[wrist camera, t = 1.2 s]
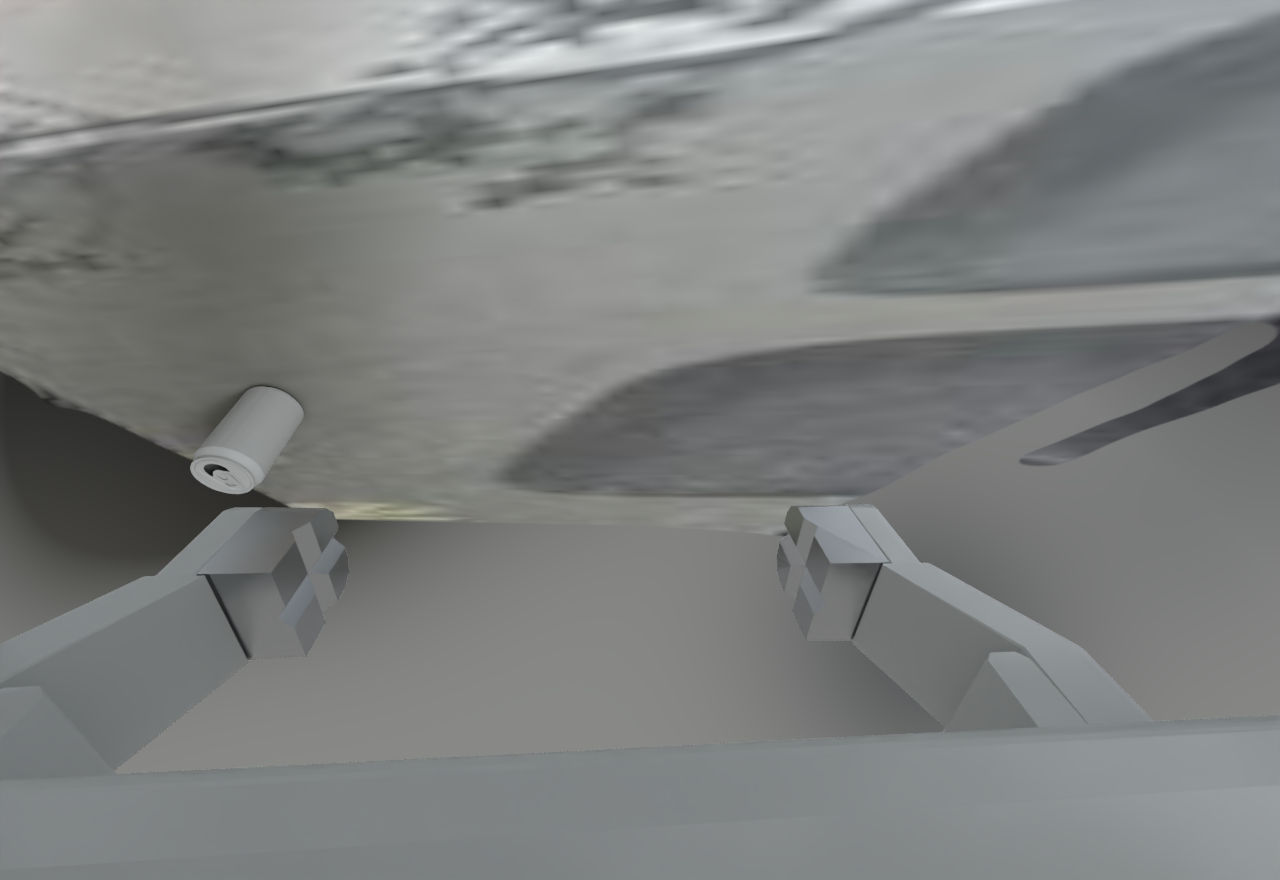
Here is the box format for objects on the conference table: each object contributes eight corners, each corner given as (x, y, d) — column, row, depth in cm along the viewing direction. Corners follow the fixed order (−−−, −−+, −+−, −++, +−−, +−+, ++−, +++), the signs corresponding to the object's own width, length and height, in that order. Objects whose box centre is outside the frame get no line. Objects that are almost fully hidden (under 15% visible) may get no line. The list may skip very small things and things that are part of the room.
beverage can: (278, 376, 58) (219, 449, 49) (318, 415, 62) (271, 489, 54) (233, 390, 59) (169, 464, 51) (276, 428, 64) (223, 502, 55)
